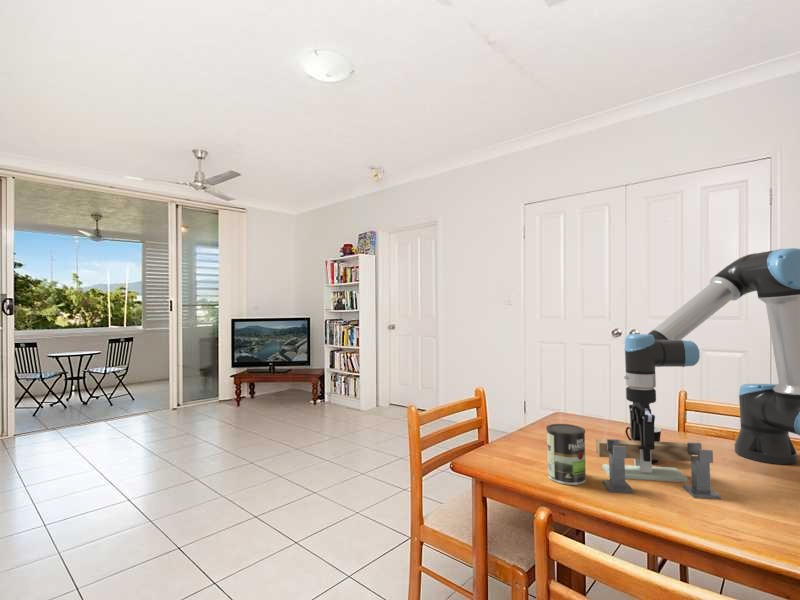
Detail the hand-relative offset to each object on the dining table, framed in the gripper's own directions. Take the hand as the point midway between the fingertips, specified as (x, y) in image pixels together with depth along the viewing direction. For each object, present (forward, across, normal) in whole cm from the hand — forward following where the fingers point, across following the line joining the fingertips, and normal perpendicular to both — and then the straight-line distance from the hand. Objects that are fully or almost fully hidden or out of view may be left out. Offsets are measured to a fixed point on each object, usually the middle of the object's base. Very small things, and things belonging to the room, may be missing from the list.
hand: (642, 468), depth 121 cm
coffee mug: (+2, -14, +5) cm, 15 cm away
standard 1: (+2, +11, -10) cm, 15 cm away
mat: (+2, 0, 0) cm, 2 cm away
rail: (-3, 0, 0) cm, 3 cm away
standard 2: (+2, +11, +10) cm, 15 cm away
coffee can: (+2, +6, -22) cm, 23 cm away
